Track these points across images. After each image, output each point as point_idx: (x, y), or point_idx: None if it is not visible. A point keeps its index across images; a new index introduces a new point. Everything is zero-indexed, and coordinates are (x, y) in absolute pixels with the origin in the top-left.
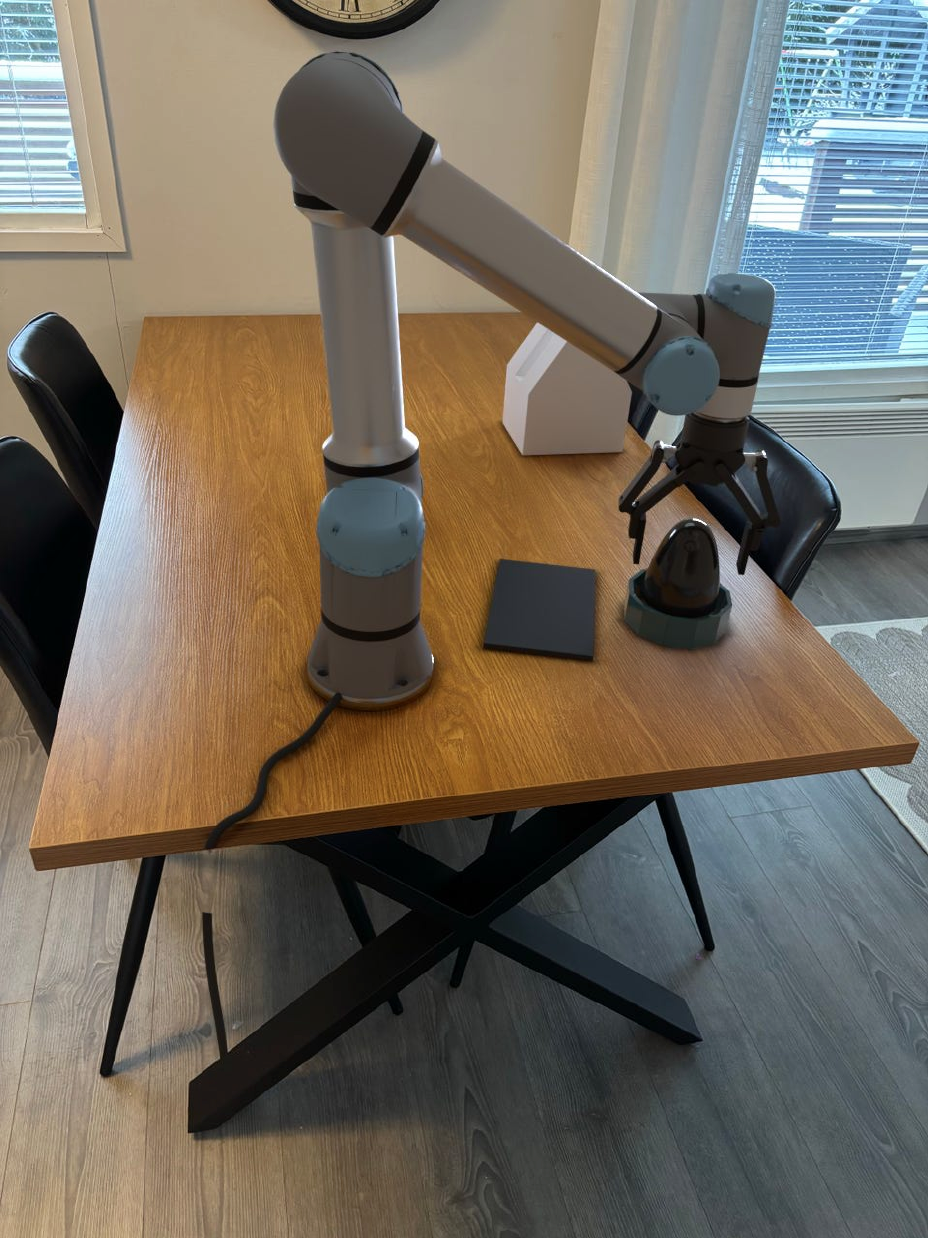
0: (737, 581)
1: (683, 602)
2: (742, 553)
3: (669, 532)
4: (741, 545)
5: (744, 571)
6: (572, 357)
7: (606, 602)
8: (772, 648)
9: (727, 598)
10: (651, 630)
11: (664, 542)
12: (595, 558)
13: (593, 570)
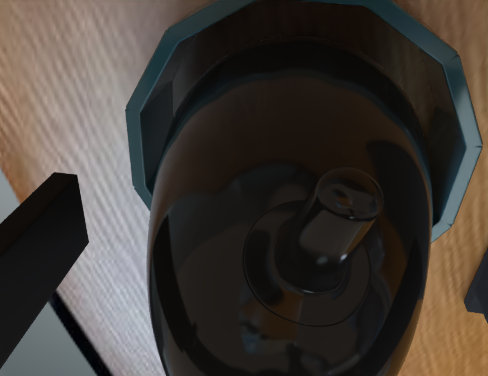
0: (124, 283)
1: (309, 55)
2: (29, 244)
3: (399, 370)
4: (36, 296)
5: (47, 180)
6: None
7: (473, 191)
8: (34, 14)
9: (140, 145)
10: (405, 9)
11: (419, 313)
12: (438, 352)
13: (474, 307)
